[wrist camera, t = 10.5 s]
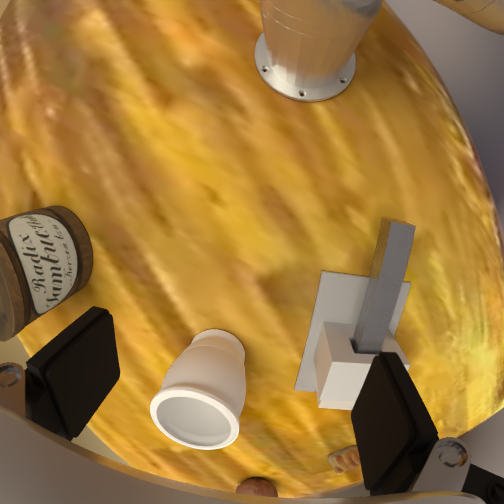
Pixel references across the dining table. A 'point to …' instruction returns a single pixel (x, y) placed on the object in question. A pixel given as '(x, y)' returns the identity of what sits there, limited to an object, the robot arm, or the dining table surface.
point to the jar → (203, 392)
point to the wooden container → (40, 264)
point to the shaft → (383, 285)
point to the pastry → (344, 459)
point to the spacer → (334, 403)
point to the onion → (257, 488)
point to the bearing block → (341, 338)
